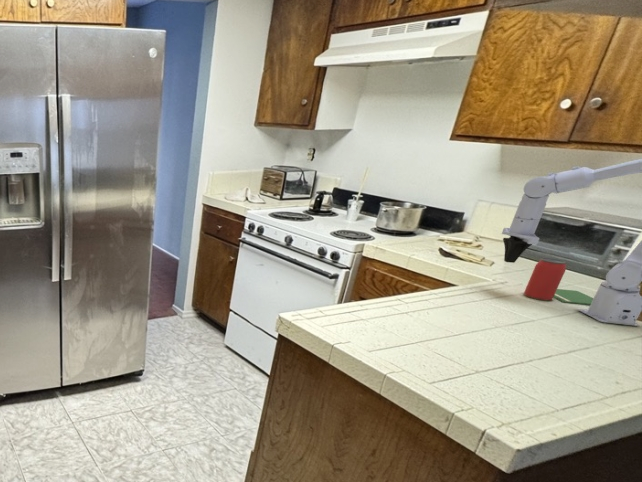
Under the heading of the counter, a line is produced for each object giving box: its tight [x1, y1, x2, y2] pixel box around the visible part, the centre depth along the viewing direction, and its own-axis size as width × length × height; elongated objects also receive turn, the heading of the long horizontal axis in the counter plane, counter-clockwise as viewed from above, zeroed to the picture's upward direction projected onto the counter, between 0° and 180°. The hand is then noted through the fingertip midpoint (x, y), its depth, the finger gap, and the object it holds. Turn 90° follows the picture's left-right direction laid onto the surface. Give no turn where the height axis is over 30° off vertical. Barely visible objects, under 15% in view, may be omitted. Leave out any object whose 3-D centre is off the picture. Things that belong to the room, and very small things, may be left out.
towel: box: [553, 288, 594, 306], centre depth 147 cm, size 14×11×1 cm
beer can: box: [523, 257, 567, 301], centre depth 144 cm, size 7×7×12 cm
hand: (509, 261), depth 145 cm, fingers closed
